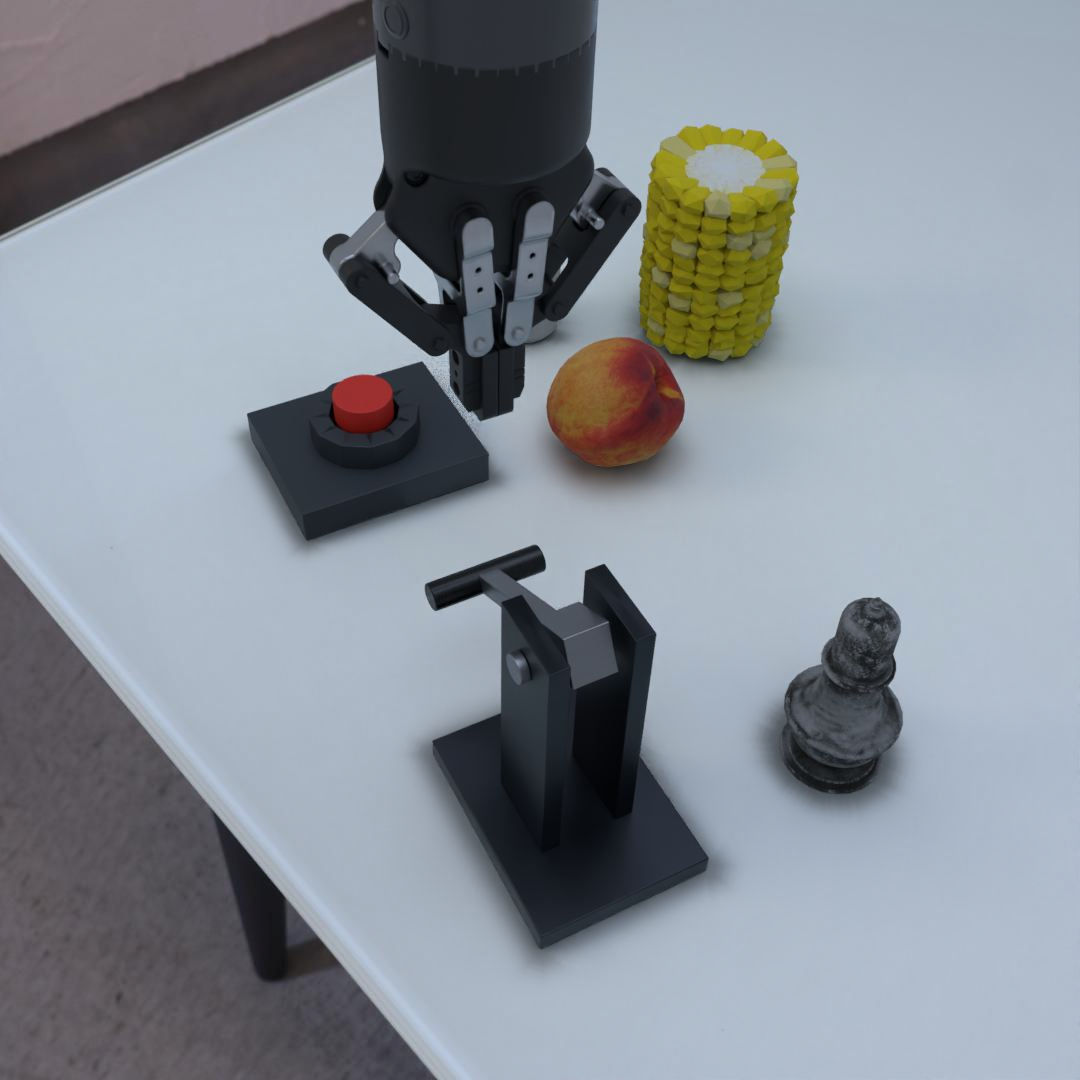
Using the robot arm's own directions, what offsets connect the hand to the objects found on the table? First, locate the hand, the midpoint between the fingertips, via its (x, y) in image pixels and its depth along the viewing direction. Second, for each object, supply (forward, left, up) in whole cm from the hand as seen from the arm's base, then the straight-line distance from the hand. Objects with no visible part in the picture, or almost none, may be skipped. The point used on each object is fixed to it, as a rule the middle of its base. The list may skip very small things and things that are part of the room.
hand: (486, 405), depth 56 cm
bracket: (0, -9, -20) cm, 21 cm away
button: (+1, +19, -16) cm, 25 cm away
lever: (0, -5, -10) cm, 11 cm away
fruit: (+15, +13, -20) cm, 28 cm away
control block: (+1, +19, -20) cm, 27 cm away
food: (+27, +21, -20) cm, 40 cm away
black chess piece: (+14, -12, -20) cm, 27 cm away
